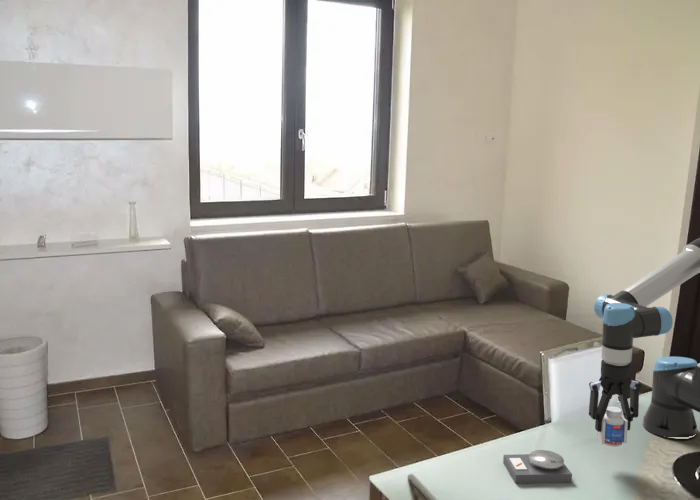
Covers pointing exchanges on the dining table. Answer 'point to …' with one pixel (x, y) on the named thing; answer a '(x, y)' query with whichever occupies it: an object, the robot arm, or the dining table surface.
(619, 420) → the pill bottle
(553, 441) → the dining table surface
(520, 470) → the scale base
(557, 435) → the dining table surface
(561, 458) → the pan
